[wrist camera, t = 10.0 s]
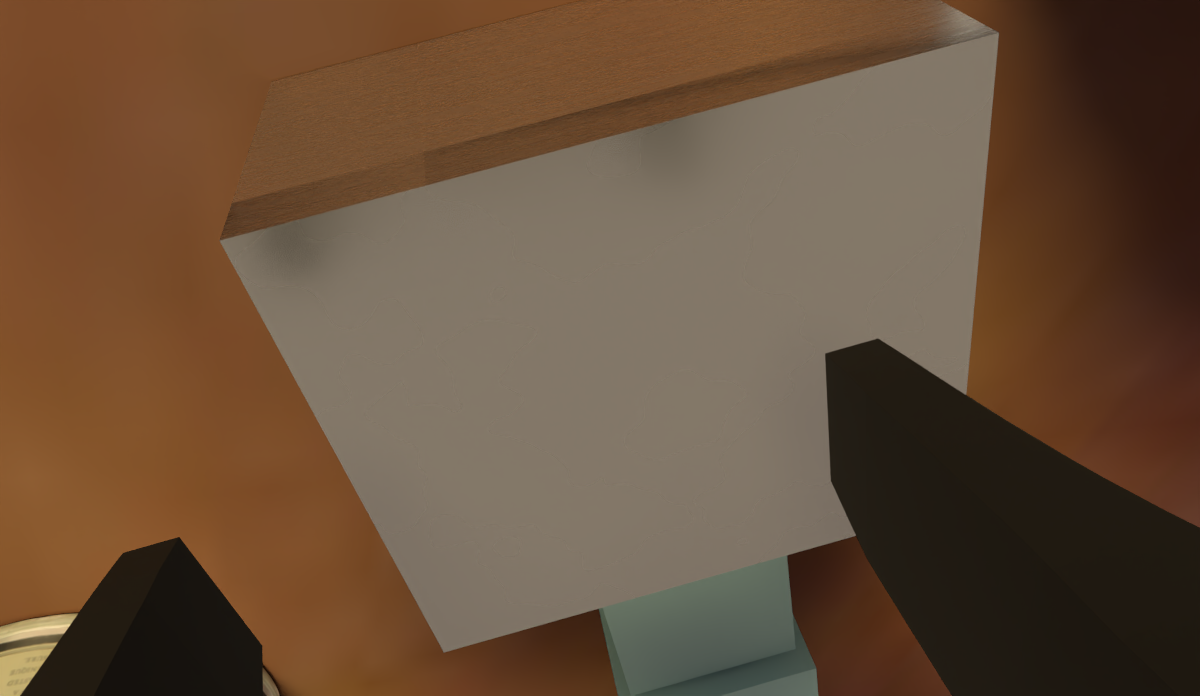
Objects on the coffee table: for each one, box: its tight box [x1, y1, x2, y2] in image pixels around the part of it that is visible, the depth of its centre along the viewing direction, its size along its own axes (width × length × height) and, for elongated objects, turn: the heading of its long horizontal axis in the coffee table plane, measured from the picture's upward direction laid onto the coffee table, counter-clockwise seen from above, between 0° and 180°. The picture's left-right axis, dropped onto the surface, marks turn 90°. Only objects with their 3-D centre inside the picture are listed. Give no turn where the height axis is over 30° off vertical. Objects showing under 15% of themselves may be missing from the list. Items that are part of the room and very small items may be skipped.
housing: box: [220, 0, 999, 652], centre depth 17 cm, size 11×10×6 cm
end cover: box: [599, 555, 818, 696], centre depth 25 cm, size 5×10×5 cm, turn 11°
